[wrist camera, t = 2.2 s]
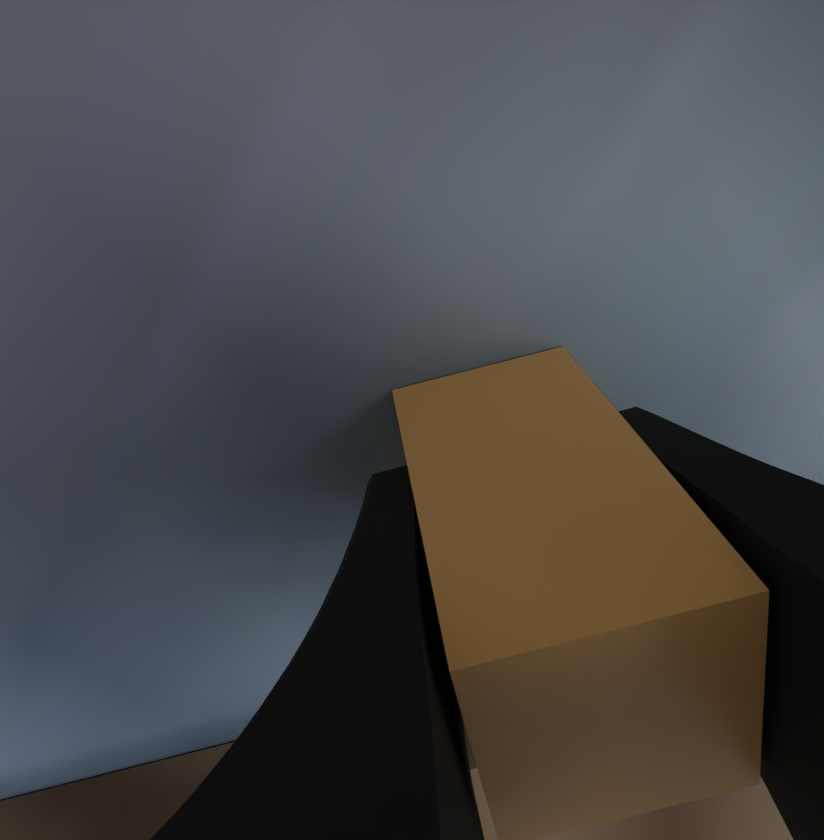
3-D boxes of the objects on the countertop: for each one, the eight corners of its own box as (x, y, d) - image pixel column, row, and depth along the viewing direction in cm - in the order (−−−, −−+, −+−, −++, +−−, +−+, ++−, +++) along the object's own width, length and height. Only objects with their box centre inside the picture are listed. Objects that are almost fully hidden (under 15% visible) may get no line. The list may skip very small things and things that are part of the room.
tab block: (563, 346, 11) (769, 590, 6) (580, 487, 13) (758, 784, 8) (391, 390, 11) (449, 671, 6) (428, 526, 13) (500, 849, 8)
